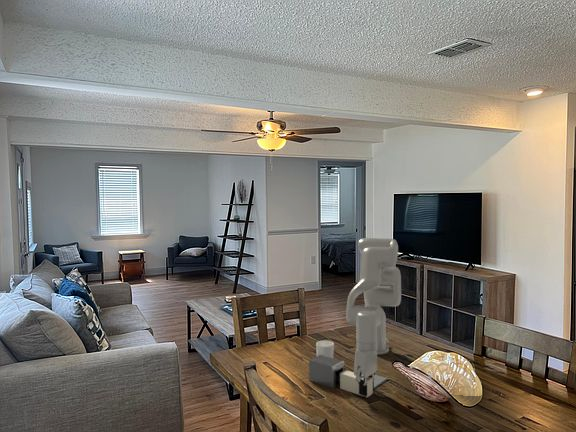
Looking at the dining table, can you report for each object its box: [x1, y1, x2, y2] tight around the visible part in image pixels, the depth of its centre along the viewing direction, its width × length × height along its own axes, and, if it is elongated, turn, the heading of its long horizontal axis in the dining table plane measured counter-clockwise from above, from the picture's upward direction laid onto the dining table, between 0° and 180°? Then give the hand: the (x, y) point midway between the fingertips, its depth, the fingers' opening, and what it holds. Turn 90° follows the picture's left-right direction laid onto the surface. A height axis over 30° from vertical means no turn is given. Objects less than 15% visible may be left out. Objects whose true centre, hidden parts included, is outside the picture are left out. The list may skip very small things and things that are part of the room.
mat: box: [361, 374, 388, 389], centre depth 178 cm, size 12×14×1 cm
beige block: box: [339, 369, 374, 398], centre depth 167 cm, size 4×12×6 cm, turn 50°
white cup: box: [315, 340, 335, 359], centre depth 193 cm, size 8×8×10 cm
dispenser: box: [308, 355, 346, 390], centre depth 176 cm, size 8×12×9 cm, turn 50°
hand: (366, 392), depth 165 cm, fingers closed on beige block, 4 cm apart
